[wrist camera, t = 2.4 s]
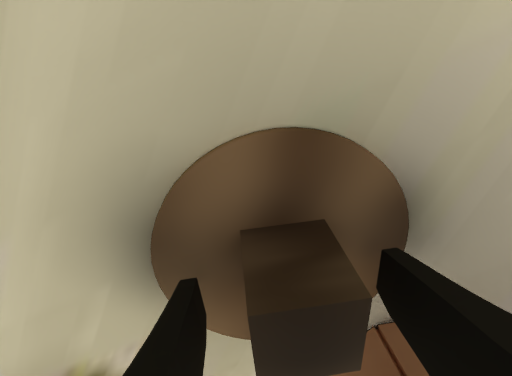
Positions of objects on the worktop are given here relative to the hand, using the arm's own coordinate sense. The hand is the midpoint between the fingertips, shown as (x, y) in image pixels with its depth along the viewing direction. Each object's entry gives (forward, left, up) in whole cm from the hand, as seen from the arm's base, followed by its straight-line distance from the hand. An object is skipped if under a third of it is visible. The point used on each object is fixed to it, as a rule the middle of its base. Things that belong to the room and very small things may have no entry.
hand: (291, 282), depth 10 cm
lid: (0, 0, -2) cm, 2 cm away
